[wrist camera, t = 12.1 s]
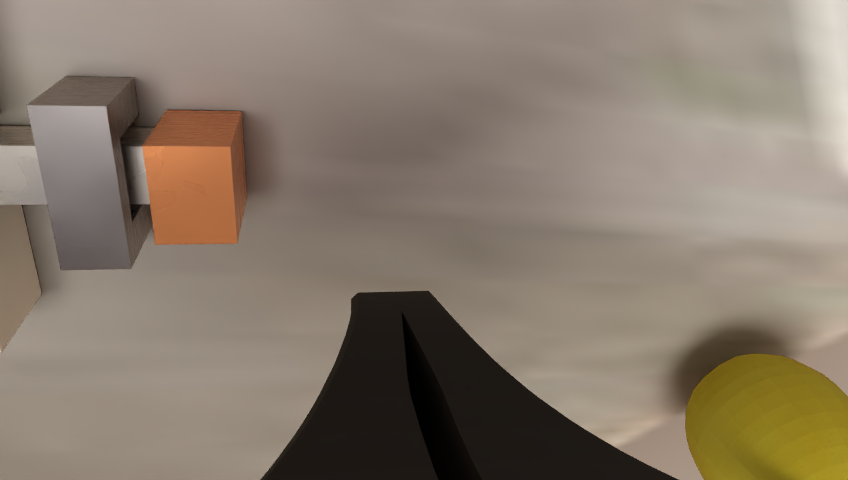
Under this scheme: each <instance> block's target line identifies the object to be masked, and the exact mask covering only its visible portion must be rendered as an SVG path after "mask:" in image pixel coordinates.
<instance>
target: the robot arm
mask: <svg viewBox="0 0 848 480" xmlns="http://www.w3.org/2000/svg"><path fill="white" fill-rule="evenodd" d="M261 480H678V479H676V478H674V477H672V476H670V475H667V474H665V473H663V472H661V471H659V470H657V469H655V468H652V467H651V466H649V465H647V464H645V463H643V462H641V461H639V460H637V459H635V458H634V457H631V456H630V455H628V454H626V453H624V452H622V451H620V450H619V449H617V448H615V447H614V446H612V445H610V444H608V443H607V442H605V441H603V440H602V439H600V438H598V437H597V436H595V435H593V434H591V433H590V432H588V431H586V430H585V429H583V428H582V427H580V426H579V425H577V424H576V423H574V422H572V421H571V420H569V419H568V418H566V417H565V416H564V415H562V414H561V413H559V412H558V411H557V410H555V409H554V408H552V407H551V406H550V405H548V404H547V403H545V402H544V401H543V400H541V399H540V398H538V397H537V396H536V395H535V394H533V393H532V392H531V391H529V390H528V389H527V388H526V387H524V386H523V385H522V384H521V383H520V382H518V381H517V380H516V379H515V378H514V377H513V376H511V375H510V374H509V373H508V372H507V371H506V370H504V369H503V368H502V367H501V366H500V365H499V364H498V363H497V362H496V361H494V360H493V359H492V358H491V357H490V356H489V355H488V354H487V353H486V352H485V351H484V350H483V349H482V348H481V347H480V346H479V345H478V344H477V343H476V342H475V341H474V340H473V339H472V338H471V337H470V336H469V335H468V334H467V333H466V331H465V330H464V329H463V328H462V327H461V326H460V325H459V324H458V323H457V322H456V321H455V320H454V318H453V317H452V316H451V315H450V314H449V313H448V312H447V311H446V310H445V308H444V307H443V306H442V305H441V304H440V303H439V302H438V301H437V299H436V298H435V297H434V296H433V295H432V294H431V293H430V292H429V291H409V292H369V293H357V294H356V295H355V296H354V297H353V298H352V299H351V317H350V321H349V325H348V329H347V332H346V336H345V338H344V341H343V344H342V346H341V349H340V351H339V354H338V357H337V359H336V362H335V364H334V366H333V368H332V370H331V372H330V374H329V376H328V378H327V380H326V382H325V384H324V387H323V389H322V391H321V393H320V394H319V396H318V398H317V400H316V402H315V403H314V405H313V407H312V409H311V410H310V412H309V414H308V415H307V417H306V418H305V420H304V422H303V423H302V425H301V426H300V428H299V429H298V431H297V432H296V434H295V435H294V437H293V438H292V439H291V441H290V442H289V444H288V445H287V446H286V448H285V449H284V450H283V452H282V453H281V454H280V456H279V457H278V459H277V460H276V461H275V462H274V464H273V465H272V466H271V468H270V469H269V470H268V471H267V472H266V474H265V475H264V476H263V477H262V479H261Z"/></svg>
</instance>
